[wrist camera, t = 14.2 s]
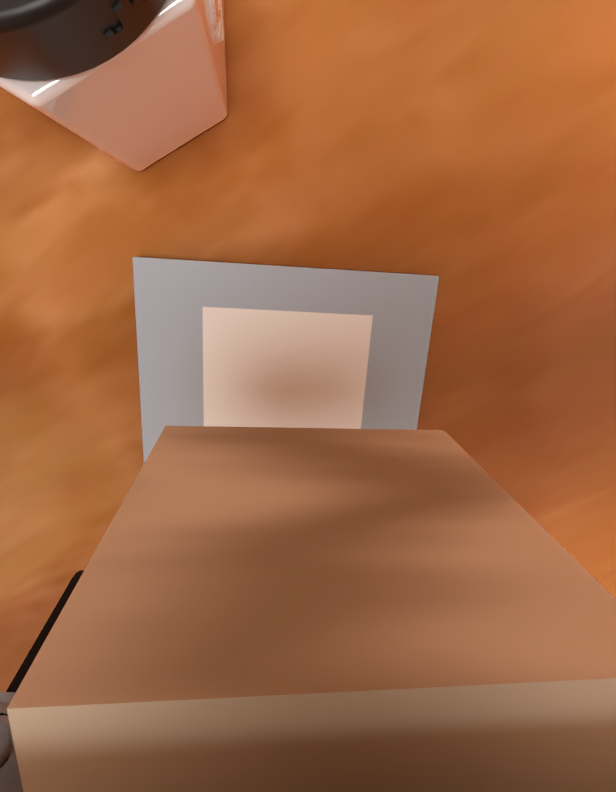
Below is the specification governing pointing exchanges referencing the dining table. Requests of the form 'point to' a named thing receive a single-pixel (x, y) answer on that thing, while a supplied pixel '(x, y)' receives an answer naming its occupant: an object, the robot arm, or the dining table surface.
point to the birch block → (322, 630)
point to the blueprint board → (279, 346)
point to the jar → (118, 70)
